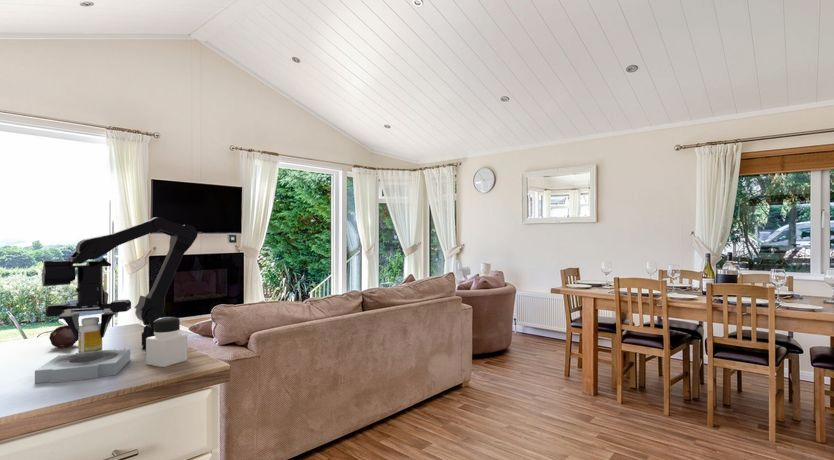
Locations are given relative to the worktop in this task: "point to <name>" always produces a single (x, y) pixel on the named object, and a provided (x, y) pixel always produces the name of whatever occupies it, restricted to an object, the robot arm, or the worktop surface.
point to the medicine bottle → (166, 343)
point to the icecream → (62, 337)
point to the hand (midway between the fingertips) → (90, 338)
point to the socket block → (82, 366)
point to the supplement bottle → (89, 335)
